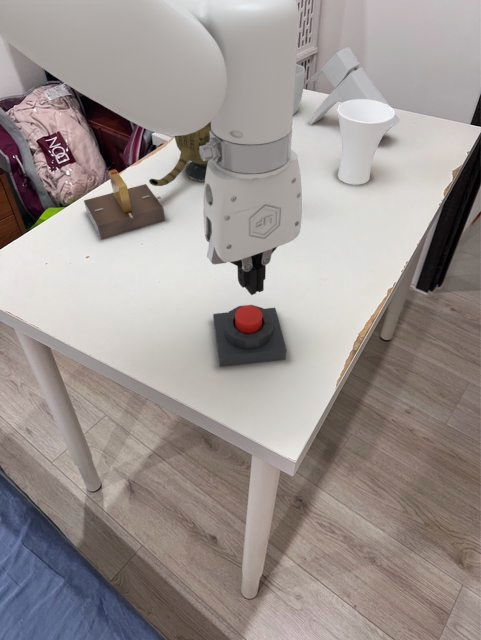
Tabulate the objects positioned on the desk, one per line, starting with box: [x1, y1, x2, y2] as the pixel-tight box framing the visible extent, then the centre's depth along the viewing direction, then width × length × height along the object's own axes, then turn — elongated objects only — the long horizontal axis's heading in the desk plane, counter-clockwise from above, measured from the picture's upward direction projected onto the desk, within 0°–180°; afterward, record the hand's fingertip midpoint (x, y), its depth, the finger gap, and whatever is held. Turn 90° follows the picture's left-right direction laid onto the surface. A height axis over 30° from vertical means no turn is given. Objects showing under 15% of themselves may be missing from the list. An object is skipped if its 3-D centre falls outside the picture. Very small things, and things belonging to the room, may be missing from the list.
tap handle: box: [108, 169, 132, 213], centre depth 82 cm, size 6×1×5 cm, turn 28°
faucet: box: [309, 46, 401, 133], centre depth 107 cm, size 6×16×20 cm
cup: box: [337, 99, 396, 186], centre depth 91 cm, size 10×10×14 cm
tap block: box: [83, 183, 166, 241], centre depth 85 cm, size 12×10×3 cm
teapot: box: [148, 122, 211, 187], centre depth 87 cm, size 12×25×23 cm, turn 146°
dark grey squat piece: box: [212, 304, 287, 368], centre depth 64 cm, size 9×8×4 cm
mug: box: [293, 63, 306, 115], centre depth 113 cm, size 13×9×10 cm
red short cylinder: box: [235, 305, 262, 334], centre depth 62 cm, size 4×4×2 cm
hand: (251, 286), depth 58 cm, fingers closed
